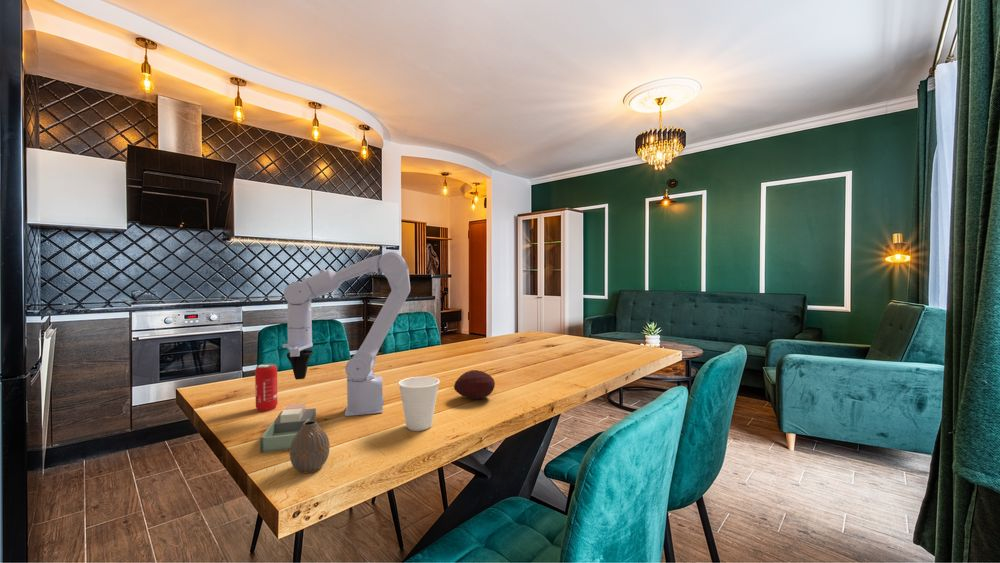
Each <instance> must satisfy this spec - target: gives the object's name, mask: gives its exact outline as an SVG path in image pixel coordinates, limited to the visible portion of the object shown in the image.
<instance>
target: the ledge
mask: <svg viewBox="0 0 1000 563" xmlns="http://www.w3.org/2000/svg"><path fill="white" fill-rule="evenodd" d="M283 411H284V410H283ZM283 411H282V410H281V411H280V413H278V415H277V417H276V418H275V419H274V421H273V422H275V433H281V432H291V431H299V430H300V429H301V427H302V425H303V423H304V422H306V420H307V419H310V421H316V418H317V408H316V407H315V408H314V407H313V408H306V410H305V412H304V414H303V416H302V417H301V419H300V421H297V422H287V423H280V415H281V414H282V412H283Z"/></svg>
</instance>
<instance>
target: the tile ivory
mask: <svg viewBox="0 0 1000 563" xmlns="http://www.w3.org/2000/svg"><path fill="white" fill-rule="evenodd" d="M302 416H303V409H302V408H299V409H287V410H285V409H283V412H282V414H281V415H280V423H287V422H297V421H300V419H301V417H302Z"/></svg>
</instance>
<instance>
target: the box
mask: <svg viewBox="0 0 1000 563" xmlns="http://www.w3.org/2000/svg"><path fill="white" fill-rule="evenodd" d="M307 421H310V419H307V420H306V422H307ZM298 432H299V431H291V432H281V433H275V422H274V421H271V423H270V424H269V426H268V427H267V428H266V429H265V431H264V432H263V434H262V435H261V436H260V438H259V448H260V449H259V452H260V454H262V453H269V452H271V453H272V452H280V451H288V450H289V451H290V446H291V443H292V440H293V438H294V437H295V435H296V434H297V433H298Z"/></svg>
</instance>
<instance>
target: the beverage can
mask: <svg viewBox="0 0 1000 563" xmlns="http://www.w3.org/2000/svg"><path fill="white" fill-rule="evenodd" d="M254 372H255V374H254V375H255V376H254V383H255V384H254V385H255V388H254V389H255V408H256V410H257V411H258V412H270V411H273V410H276V408H277V405H278V404H279V403H278V367H277V364H276V363H263V364H259V365H256V367H255V369H254Z"/></svg>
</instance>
